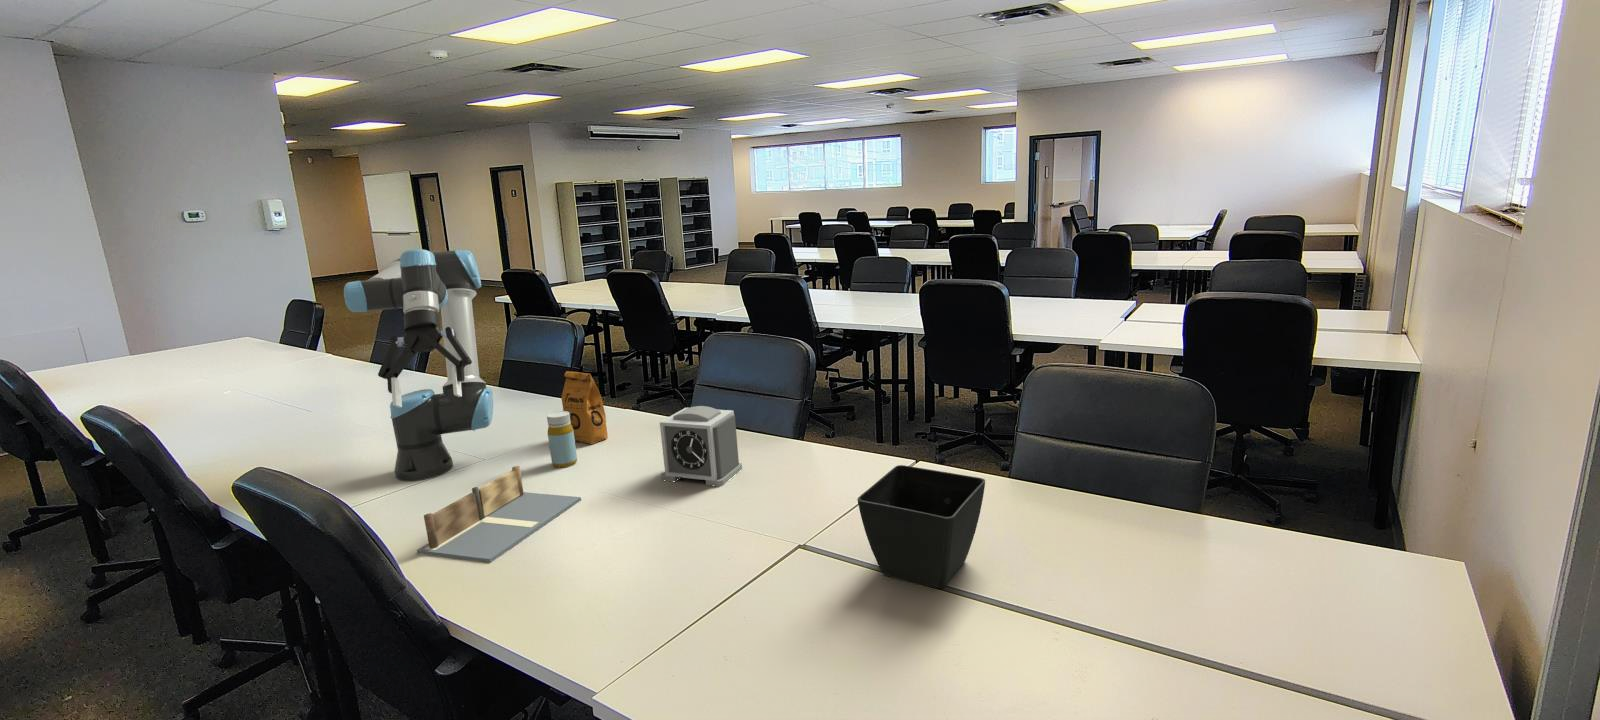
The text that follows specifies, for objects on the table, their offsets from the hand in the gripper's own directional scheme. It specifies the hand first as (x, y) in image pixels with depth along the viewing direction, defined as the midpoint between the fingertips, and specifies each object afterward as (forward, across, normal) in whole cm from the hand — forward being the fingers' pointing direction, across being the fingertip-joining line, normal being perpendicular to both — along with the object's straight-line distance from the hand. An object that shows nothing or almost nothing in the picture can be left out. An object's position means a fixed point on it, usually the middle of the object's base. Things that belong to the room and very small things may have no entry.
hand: (427, 401), depth 172 cm
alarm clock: (+24, +56, +34) cm, 70 cm away
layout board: (+29, +10, +14) cm, 34 cm away
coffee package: (+3, +19, +68) cm, 71 cm away
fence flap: (+24, +7, +22) cm, 33 cm away
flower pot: (+56, +100, -19) cm, 116 cm away
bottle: (+12, +16, +49) cm, 53 cm away
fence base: (+30, +1, +10) cm, 31 cm away
